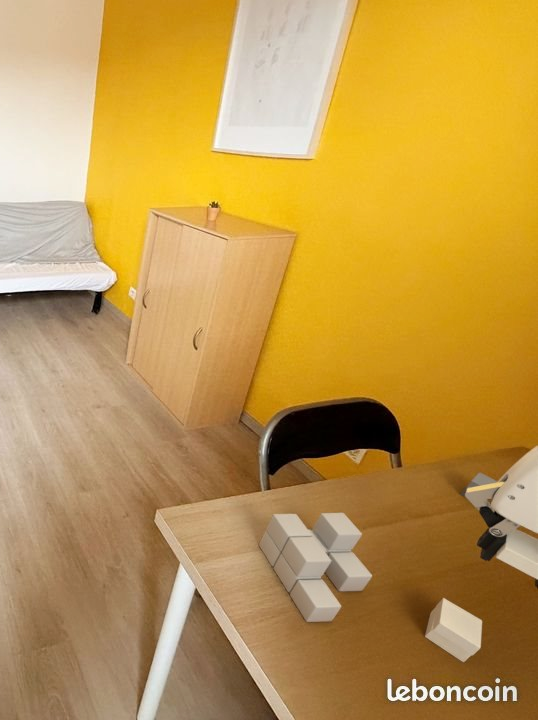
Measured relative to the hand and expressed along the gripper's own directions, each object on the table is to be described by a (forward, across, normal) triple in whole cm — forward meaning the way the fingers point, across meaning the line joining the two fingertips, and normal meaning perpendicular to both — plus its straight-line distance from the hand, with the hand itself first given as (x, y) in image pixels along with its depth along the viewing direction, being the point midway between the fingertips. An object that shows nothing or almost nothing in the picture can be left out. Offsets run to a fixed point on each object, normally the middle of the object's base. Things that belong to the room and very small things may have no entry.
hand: (512, 566), depth 52 cm
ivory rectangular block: (+16, 0, 0) cm, 16 cm away
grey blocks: (+16, 0, -38) cm, 41 cm away
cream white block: (-2, 0, 0) cm, 2 cm away
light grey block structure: (+16, +14, +6) cm, 22 cm away
